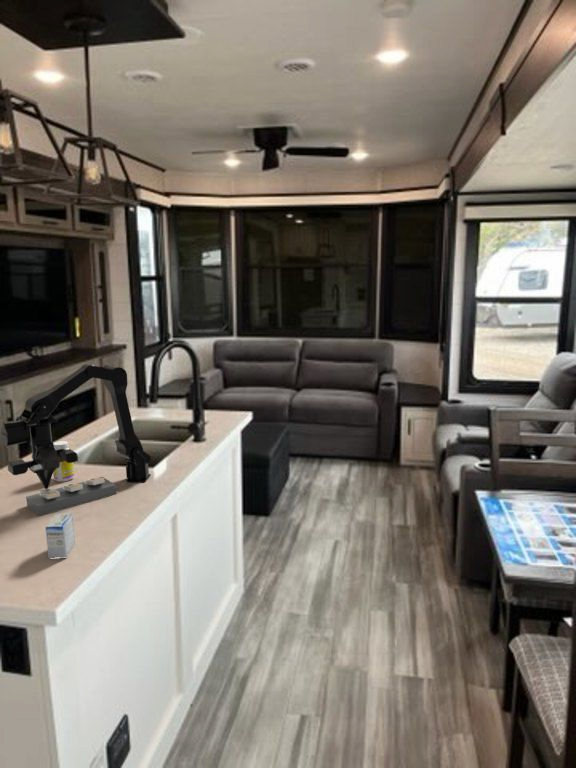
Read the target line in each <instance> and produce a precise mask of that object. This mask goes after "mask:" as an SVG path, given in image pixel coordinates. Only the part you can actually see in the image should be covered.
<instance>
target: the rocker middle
mask: <svg viewBox="0 0 576 768" xmlns="http://www.w3.org/2000/svg"><path fill="white" fill-rule="evenodd" d="M77 483H78V482H74V483H70V484H66V485H64V486H63V487H64V490H67V491H70V492H73V491H76V490H80V489H83V485H81V484H77Z"/></svg>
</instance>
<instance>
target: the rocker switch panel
mask: <svg viewBox="0 0 576 768" xmlns="http://www.w3.org/2000/svg"><path fill="white" fill-rule="evenodd" d="M99 478H104V480H105V482H104V483H100V484H96V485H87V483H86V481H87V480H85V481H81V482H76V483H77V484H81V485H83V489H80V490H76V491H73V492H70V491H67V490H64V486H62V487H61V486H60V487H59V488H54V489H55V490H57V491H58V492H60V496H58V497H55V498H51V499H46V498H45V497H43V496H42V495H41V492H39V493H35V494H32V495H28V496H26V498H25V499H26V505H27V507H28V508H29V509H30V510H31V511H32V512H33V513H35V515H36V516H38V517H40V516H43V515H48V514H51V513H54V512H57V511H61V510H65V509H68V508H71V507H74V506H78V505H81V504H85V503H89V502H93V501H95V500H99V498H100V499H103V498H106V497H105V496H107V497H109V496H108V495H110V496H113V495H112V494H114V495H117V485H116V484H115V483H114V482H112V481H110V480H109V479H107V478H106V477H104V476H100V477H99ZM102 497H103V498H102Z"/></svg>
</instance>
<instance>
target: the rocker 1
mask: <svg viewBox="0 0 576 768" xmlns="http://www.w3.org/2000/svg"><path fill="white" fill-rule="evenodd" d="M55 489H56V488H54V487H51V488H50V487H49V488H48V489H42V490H40V492H39V493H41V495H42V496H43V497H45V498H46V499H51V498H55V497H58V496H60V492H58V491H57V490H55Z"/></svg>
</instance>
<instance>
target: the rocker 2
mask: <svg viewBox="0 0 576 768" xmlns="http://www.w3.org/2000/svg"><path fill="white" fill-rule="evenodd" d="M104 478H105V477H104ZM104 478H100V477H96V478H91V479H87V480H85V481H86V483H87V485H96V484H100V483H104V482H105V480H104Z"/></svg>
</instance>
